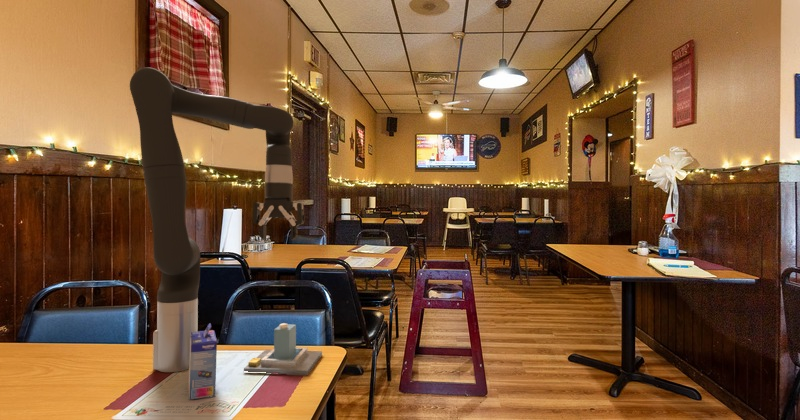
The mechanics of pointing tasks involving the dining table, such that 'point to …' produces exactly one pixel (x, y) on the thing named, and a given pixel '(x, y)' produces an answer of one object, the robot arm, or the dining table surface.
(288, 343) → the servo
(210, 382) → the ink cartridge box
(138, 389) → the dining table surface
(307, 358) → the plate
